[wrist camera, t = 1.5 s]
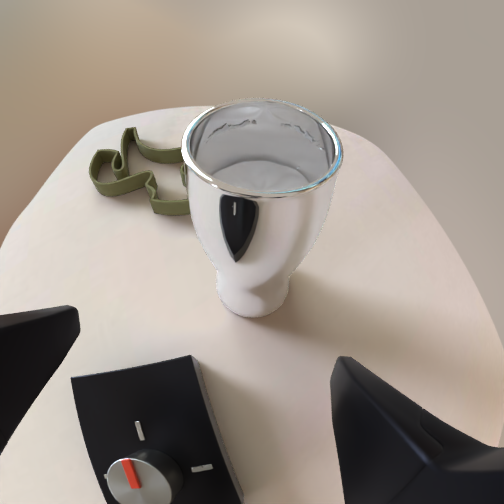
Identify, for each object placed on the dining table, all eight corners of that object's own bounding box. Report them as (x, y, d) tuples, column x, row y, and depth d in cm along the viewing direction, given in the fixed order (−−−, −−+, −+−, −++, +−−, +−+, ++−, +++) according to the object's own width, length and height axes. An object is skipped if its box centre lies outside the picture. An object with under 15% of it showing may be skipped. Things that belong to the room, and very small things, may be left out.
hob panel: (244, 496, 15) (244, 511, 12) (128, 509, 13) (113, 520, 10) (197, 359, 20) (190, 354, 18) (88, 380, 19) (68, 376, 16)
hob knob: (191, 495, 13) (180, 515, 9) (138, 499, 12) (118, 516, 9) (172, 445, 14) (156, 456, 11) (120, 451, 14) (95, 459, 10)
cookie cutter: (246, 143, 32) (246, 130, 31) (225, 222, 27) (223, 209, 25) (118, 137, 33) (114, 126, 31) (76, 204, 27) (69, 193, 26)
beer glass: (303, 313, 22) (378, 190, 9) (218, 330, 22) (179, 218, 8) (281, 241, 26) (312, 93, 13) (205, 254, 25) (174, 104, 12)
